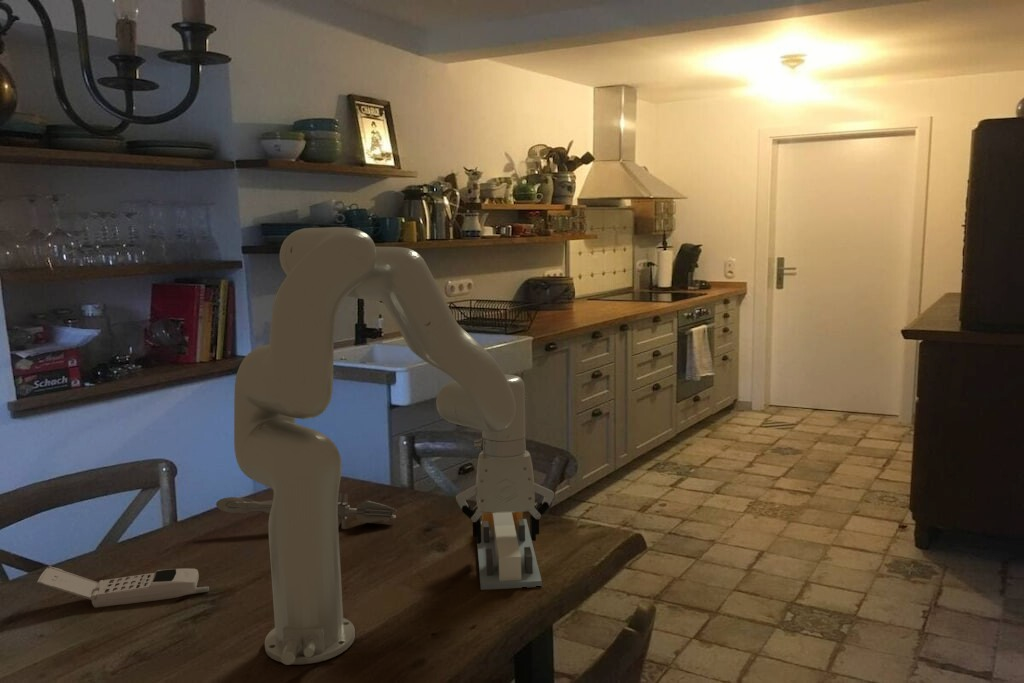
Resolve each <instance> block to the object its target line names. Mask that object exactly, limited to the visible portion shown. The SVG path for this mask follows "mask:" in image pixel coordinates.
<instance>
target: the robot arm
mask: <svg viewBox="0 0 1024 683" xmlns="http://www.w3.org/2000/svg"><path fill="white" fill-rule="evenodd" d="M279 263H280V266H281V268H282V270H283V272H284V273H285V275H286V277H285V278H284V280H283V281H282V283H281V285H280V286H279V289H278V291H277V293H276V295H275V298H274V302H273V306H272V310H271V318H270V320H271V321H270V331H269V333H270V334H269V344H265V345H260V346H258V347H256V348H254V349H252V350H251V351H250V352H248V354H247V355H246V356H245V357H244V358H243V360H242V361H241V363H240V365H239V367H238V369H237V372H236V376H235V379H234V380H235V382H234V399H233V400H234V403H233V404H234V410H233V411H234V412H233V415H234V418H233V420H234V421H233V427H234V428H233V429H234V431H233V435H234V436H233V438H234V440H233V442H234V443H233V445H234V454H235V455H234V457H235V460H236V463H237V465H238V468H239V469H240V471H241V472H242V473H243V474H244V475H245V476H246V477H247V478H249V479H250V480H253V481H254V482H257V483H259V484H260V485H263V486H266V487H268V488H269V489H271V490H272V491H273V498H272V500H273V503H272V507H271V511H270V514H268V515H269V516H268V523H267V524H268V544H269V554H270V555H269V558H270V572H271V588H272V601H273V602H272V603H273V619H274V628H272V629H271V630H270V631H269V632H268V633H267V635H266V636H265V639H264V650H265V653H266V654H267V656H268V657H269V658H271V659H272V660H274V661H277V662H278V663H279V662H280V663H282V664H284V665H286V666H289V665H310V664H311V665H312V664H317V663H320V662H323V661H327V660H329V659H333V658H335V657H336V656H339V655H340V654H342V653H343V652H345V651H347V650H348V648H350V647H351V645H352V644H353V643H354V641H355V637H356V633H355V632H356V630H355V629H356V628H355V626H354V624H353V623H352V622H351V621H350V620H348V619H347V618H345V617H344V609H343V606H344V605H343V594H342V593H343V592H342V591H343V589H342V575H341V574H342V572H341V569H342V568H341V554H340V553H341V552H340V536H339V528H338V497H339V493H340V492H339V491H340V486H341V485H340V483H341V478H342V468H343V466H342V465H343V464H342V457H341V454H340V451H339V449H338V447H337V445H336V444H335V443H334V442H333V441H332V439H331V438H329V436H327V435H325V434H323V433H322V432H320V431H319V430H316V429H313V428H310V427H307V426H303V425H300V424H297V423H296V419H297V420H298V419H300V420H301V419H302V420H308V419H313V418H316V417H319V416H320V415H322V414H323V413H324V412H325V411H326V410H327V409H328V407H329V406H330V404H331V401H332V396H333V387H334V343H335V341H334V340H335V338H334V337H335V329H336V326H335V325H336V321H337V320H336V319H337V314H338V312H339V310H340V307H341V305H342V304H343V302H344V301H345V300H346V298H347V297H350V298H355V299H361V300H366V301H376V302H377V301H378V302H382V303H383V304H384V306H385V308H386V309H387V312H388V313H389V315H390V316H391V318H392V320H393V321H394V324H395V325H396V327H397V329H398V330H399V332H400V334H401V336H402V337H403V339H404V341H405V343H406V345H407V347H408V348H409V349H410V351H411V352H412V353H413V354H414V355H416V356H418V357H419V359H421V360H422V361H424V362H425V363H426V364H428V365H431V366H433V367H434V368H436V369H438V370H439V371H441V372H443V373H444V374H446V375H447V376H448V377H450V378H451V379H452V380H451V381H449V382H448V383H446V384H444V385H443V386H442V387H441V389H439V391H438V393H437V396H436V400H435V405H436V410H437V412H438V414H439V415H440V417H441V418H443V419H444V420H445V421H447V422H449V423H452V424H454V425H459V426H462V427H467V428H473V429H476V430H480V431H482V434H481V435H482V437H480V439H478V440H474V441H473V444H474V449H480V450H481V452H480V453H479V454H478V459H477V465H476V474H475V475H476V479H475V480H476V481H475V485H472V486H471V487H468V488H467V489H465V490H464V491H462V492H459V493H457V494H456V496H455V501H456V503H457V505H458V506H459V508H460V509H461V511H462V513H463V514H464V515H466V516H467V518H469V519H470V520H471V522H472V538H476V545H477V544H480V543H481V521H482V519H481V518H482V514H483V513H507V512H523V513H524V512H529V513H530V515H529V532H530V536H531V540H532V542H536V539H537V535H539V534H540V519H541V517H542V515H543V514H545V512H546V511H547V510H548V509H549V508H550V505H551V504H552V501H553V499H554V497H555V492H554V491H553V490H551V489H549V488H547V487H545V486H543V485H540V484H538V483H537V482H535V479H534V477H535V476H534V468H533V460H532V457H531V454H530V452H529V451H528V450H527V448H526V446H527V444H526V442H527V441H526V402H525V400H526V398H525V396H526V394H525V393H526V391H525V382H524V380H523V379H522V377H520V376H518V375H515V374H506V373H504V371H503V370H502V368H501V366H500V365H499V363H498V361H496V359H494V357H493V356H492V354H490V353H489V352H488V351H487V350H486V349H485V348H484V347H483V346H482V345H481V344H480V343H479V342H478V341H476V339H475V338H474V337H472V335H470V334H469V333H468V332H467V331H466V330H465V329H464V328H463V327H462V326H460V324H459V323H458V322H457V320H456V318H455V317H454V315H453V313H452V311H451V309H450V307H449V305H448V303H447V301H446V299H445V297H444V295H443V294H442V292H441V290H440V288H439V285H438V283H437V281H436V280H435V278H434V276H433V274H432V272H431V270H430V268H429V267H428V265H427V262H426V261H425V259H424V258H423V257H422V255H421V254H419V253H418V252H417V251H415V250H413V249H411V248H408V247H402V246H376V244H375V242H374V240H373V238H371V236H370V235H369V234H367V233H366V232H364V231H362V230H360V229H357V228H353V227H345V226H344V227H343V226H331V227H304V228H301V229H297V230H294V231H293V232H291V233H290V234H289V235H288V236H287V237H285V239H284V240H283V242H282V244H281V247H280V250H279ZM536 493H537V494H539V495H541V496H543V499H542V500H541V502H540V503H539V504H538V505H536V504H535V502H536V496H535V495H536ZM474 496H476V497H475V500H476V505H475V507H473V508H472V507H471V506H470V505H469V504H468V503H467V500H469V499H470V498H472V497H474Z"/></svg>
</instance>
